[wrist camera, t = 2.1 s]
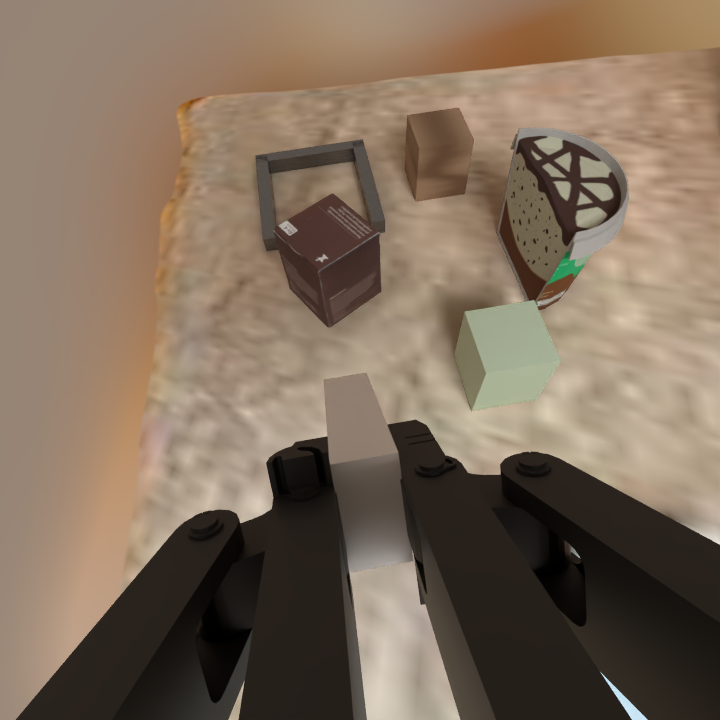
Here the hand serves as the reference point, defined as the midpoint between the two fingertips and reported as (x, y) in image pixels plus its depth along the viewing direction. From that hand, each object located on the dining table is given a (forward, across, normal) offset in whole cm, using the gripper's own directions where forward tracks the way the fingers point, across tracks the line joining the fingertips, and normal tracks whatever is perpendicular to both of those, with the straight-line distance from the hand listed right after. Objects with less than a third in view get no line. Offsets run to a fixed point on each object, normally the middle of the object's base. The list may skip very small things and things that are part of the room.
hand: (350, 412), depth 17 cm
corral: (+35, +1, +10) cm, 36 cm away
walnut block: (+35, +13, +10) cm, 39 cm away
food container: (+26, +20, +1) cm, 33 cm away
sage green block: (+19, +12, -6) cm, 23 cm away
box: (+27, +1, +2) cm, 27 cm away
